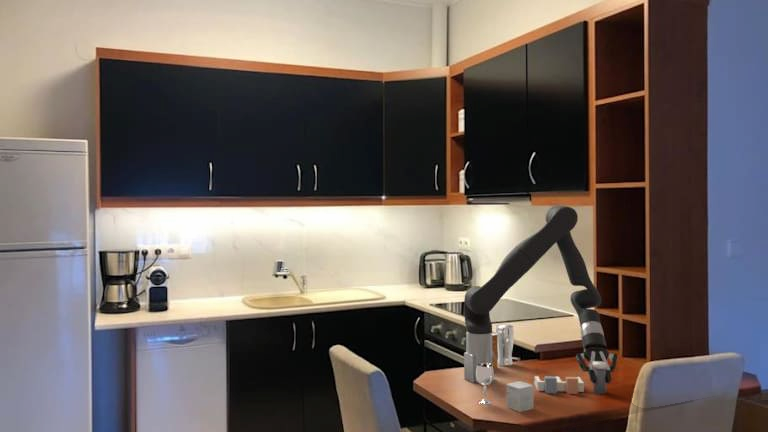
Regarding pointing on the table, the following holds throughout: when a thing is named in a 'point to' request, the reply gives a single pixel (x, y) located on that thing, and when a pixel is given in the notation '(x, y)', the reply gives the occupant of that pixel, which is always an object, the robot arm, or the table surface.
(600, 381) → the blue white-capped bottle
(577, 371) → the table surface
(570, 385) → the socket block
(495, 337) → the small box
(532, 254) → the robot arm
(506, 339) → the beer glass
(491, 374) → the wineglass
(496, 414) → the table surface
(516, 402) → the product box
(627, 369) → the table surface
